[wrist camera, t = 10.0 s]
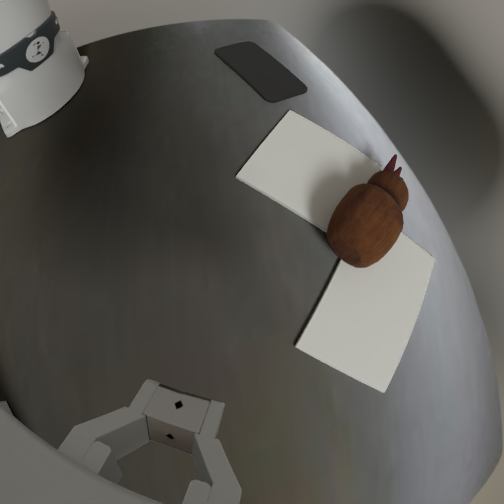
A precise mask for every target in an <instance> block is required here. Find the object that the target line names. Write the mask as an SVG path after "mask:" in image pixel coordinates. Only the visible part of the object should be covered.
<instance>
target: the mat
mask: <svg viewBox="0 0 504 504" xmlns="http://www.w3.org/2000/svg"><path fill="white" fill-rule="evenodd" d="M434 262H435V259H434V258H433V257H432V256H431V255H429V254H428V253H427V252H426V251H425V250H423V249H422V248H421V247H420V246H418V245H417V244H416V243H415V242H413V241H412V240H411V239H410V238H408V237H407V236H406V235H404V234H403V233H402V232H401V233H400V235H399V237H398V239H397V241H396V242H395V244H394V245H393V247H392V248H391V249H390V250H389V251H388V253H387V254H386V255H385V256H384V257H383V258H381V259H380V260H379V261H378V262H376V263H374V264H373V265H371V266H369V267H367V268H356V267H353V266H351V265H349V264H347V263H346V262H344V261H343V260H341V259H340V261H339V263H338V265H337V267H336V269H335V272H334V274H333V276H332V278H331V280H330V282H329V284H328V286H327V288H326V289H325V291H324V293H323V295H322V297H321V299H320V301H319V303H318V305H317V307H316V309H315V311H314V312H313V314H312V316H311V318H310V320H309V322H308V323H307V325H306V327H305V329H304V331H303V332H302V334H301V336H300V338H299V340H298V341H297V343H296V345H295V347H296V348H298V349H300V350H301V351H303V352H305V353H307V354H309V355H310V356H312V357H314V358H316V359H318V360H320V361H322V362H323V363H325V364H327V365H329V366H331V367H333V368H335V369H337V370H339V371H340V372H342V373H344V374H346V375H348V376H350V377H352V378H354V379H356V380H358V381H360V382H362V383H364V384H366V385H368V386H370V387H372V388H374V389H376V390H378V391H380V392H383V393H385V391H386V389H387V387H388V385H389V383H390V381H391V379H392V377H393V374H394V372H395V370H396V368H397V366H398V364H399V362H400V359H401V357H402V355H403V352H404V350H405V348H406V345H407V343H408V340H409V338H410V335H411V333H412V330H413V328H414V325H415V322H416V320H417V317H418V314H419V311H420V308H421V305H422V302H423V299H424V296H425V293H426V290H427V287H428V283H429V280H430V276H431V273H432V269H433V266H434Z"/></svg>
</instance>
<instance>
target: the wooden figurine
mask: <svg viewBox="0 0 504 504" xmlns="http://www.w3.org/2000/svg"><path fill="white" fill-rule="evenodd" d="M396 159H397V155H396V154H395V155H394V156H393V157H392V159H391V160H390V161H389V163H388V164H387V165H386V167H385V168H384V170H383V171H379V172H376V173H374V174H373V176H372V177H371V178H370V179H369V180H368V182H367V184H366V183H363V184H359V185H355V186H354V187H352V188H351V189H350V190H349V191H348V192H347V193H346V195H345V196H344V197H343V198H342V199H341V201H340V202H339V203H338V205H337V206H336V208H335V210H334V212H333V214H332V216H331V219H330V221H329V224H328V228H327V233H326V237H327V240H328V243H329V246H330V247H331V249H332V250H333V252H334V253H335V254H336V255H337V256H338V257H339V258H340V259H341V260H343V261H344V262H346V263H347V264H349V265H351V266H353V267H356V268H367V267H369V266H371V265H373V264H374V263H376V262H378V261H379V260H380V259H381V258H383V257H384V256H385V255H386V254H387V253H388V251H389V250H390V249H391V248H392V247H393V245H394V244H395V242H396V241H397V239H398V237H399V235H400V233H401V231H402V229H403V223H404V222H403V215H402V211H403V210H404V209H405V207H406V205H407V202H408V196H409V195H408V189H407V186H406V184H405V182H404V181H403V178H401V177H400V176H399V175H400V173H401V170H402V168H401V167H399V168H398V169H397V170H395V171H394V168H395V163H396Z"/></svg>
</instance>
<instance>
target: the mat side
mask: <svg viewBox="0 0 504 504" xmlns="http://www.w3.org/2000/svg"><path fill="white" fill-rule="evenodd" d="M380 168H381V166H380V165H379V164H378V163H376V162H375V161H373V160H372V159H370V158H369V157H368V156H366V155H365V154H363V153H362V152H360V151H359V150H357V149H356V148H354V147H353V146H351V145H349V144H348V143H346V142H345V141H343V140H342V139H340V138H338V137H337V136H335V135H333V134H332V133H330V132H328V131H327V130H325V129H323V128H322V127H320V126H318V125H316V124H315V123H313V122H311V121H309V120H308V119H306V118H304V117H302V116H300V115H298V114H296V113H295V112H293V111H291V110H289V112H288V113H287V114H286V115H285V116H284V117H283V119H282V120H281V121H280V122H279V123H278V125H277V126H276V127H275V128H274V129H273V131H272V132H271V133H270V134H269V135H268V137H267V138H266V139H265V140H264V142H263V143H262V144H261V145H260V146H259V148H258V149H257V150H256V151H255V153H254V154H253V155H252V156H251V158H250V159H249V160H248V161H247V163H246V164H245V165H244V166H243V168H242V169H241V170H240V172H239V173H238V174H237V175H236V178H237V179H238V180H240V181H242V182H244V183H245V184H247V185H249V186H251V187H252V188H254V189H256V190H257V191H259V192H261V193H263V194H264V195H266V196H268V197H269V198H271V199H273V200H274V201H276V202H278V203H279V204H281V205H283V206H284V207H286V208H287V209H289V210H291V211H292V212H294V213H296V214H297V215H299V216H300V217H302V218H304V219H305V220H307V221H308V222H310V223H312V224H313V225H315V226H316V227H318V228H319V229H321V230H323V231H324V232H326V233H327V228H328V224H329V221H330V219H331V216H332V214H333V212H334V210H335V208H336V206H337V205H338V203H339V202H340V201H341V199H342V198H343V197H344V196H345V195H346V193H347V192H348V191H349V190H350V189H351V188H352V187H354V186H355V185H359V184H363V183H366V184H367V182H368V180H369V179H370V178H371V177H372V176H373V174H374V173H376V172H379V171H380Z"/></svg>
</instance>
